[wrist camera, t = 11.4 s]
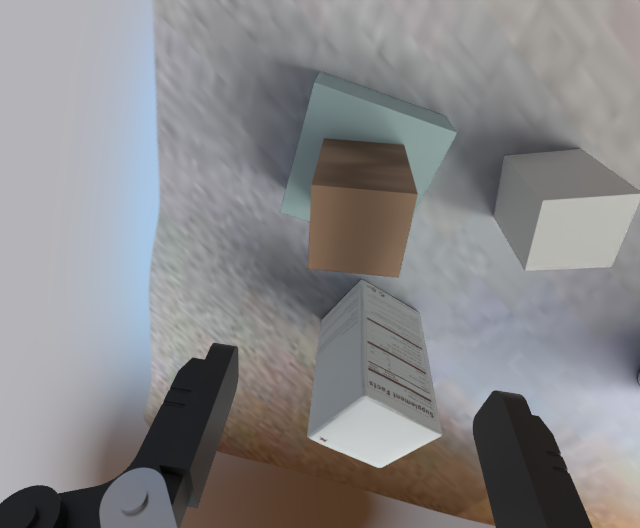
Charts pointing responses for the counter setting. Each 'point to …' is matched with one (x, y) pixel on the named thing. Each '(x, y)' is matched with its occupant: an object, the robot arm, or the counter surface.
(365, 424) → the supplement box
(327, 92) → the pedestal block
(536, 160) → the grey block
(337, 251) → the walnut block
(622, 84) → the counter surface
